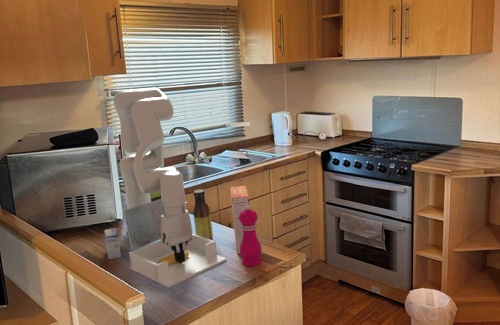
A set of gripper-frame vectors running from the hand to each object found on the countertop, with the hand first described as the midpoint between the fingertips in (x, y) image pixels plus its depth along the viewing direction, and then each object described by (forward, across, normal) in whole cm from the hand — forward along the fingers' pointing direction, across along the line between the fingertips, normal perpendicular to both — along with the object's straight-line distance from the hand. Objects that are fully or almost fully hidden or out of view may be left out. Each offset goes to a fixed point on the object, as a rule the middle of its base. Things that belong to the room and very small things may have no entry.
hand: (180, 261), depth 159 cm
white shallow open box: (+2, 0, -2) cm, 3 cm away
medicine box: (+2, +9, -28) cm, 30 cm away
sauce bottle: (+2, -19, -10) cm, 22 cm away
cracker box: (+2, -24, +6) cm, 25 cm away
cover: (-12, 0, -12) cm, 17 cm away
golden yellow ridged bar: (+1, 0, -4) cm, 4 cm away
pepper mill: (+2, -16, +18) cm, 24 cm away
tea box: (+2, -36, -69) cm, 78 cm away
